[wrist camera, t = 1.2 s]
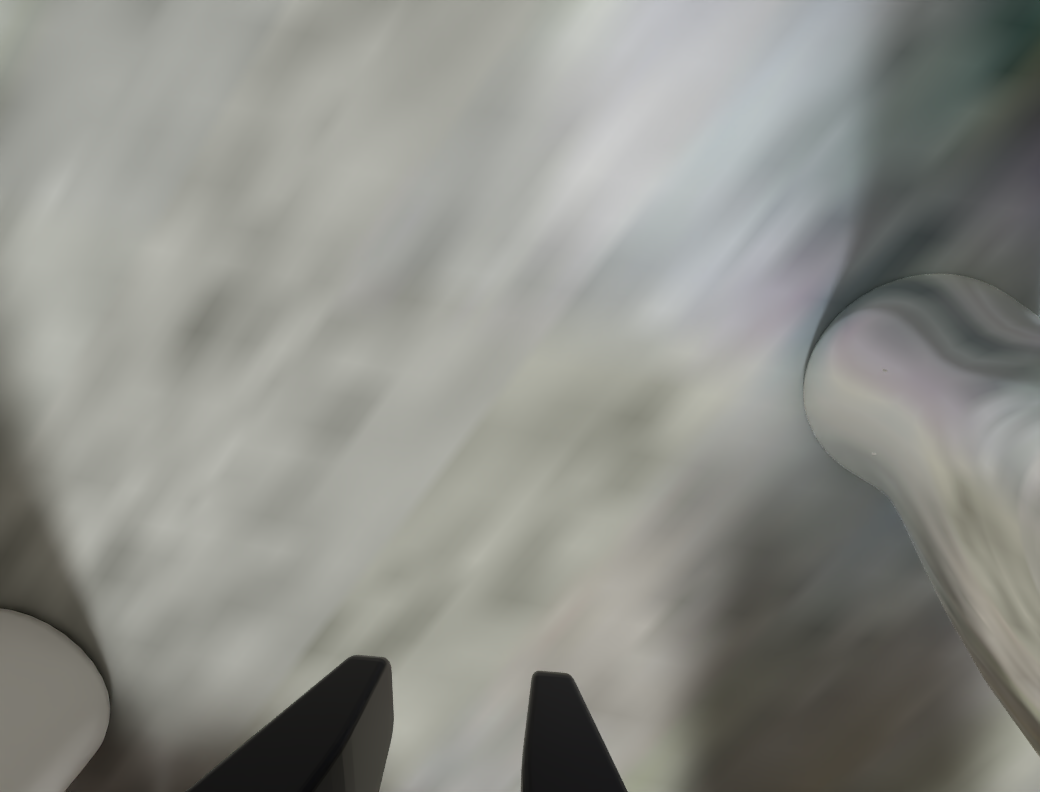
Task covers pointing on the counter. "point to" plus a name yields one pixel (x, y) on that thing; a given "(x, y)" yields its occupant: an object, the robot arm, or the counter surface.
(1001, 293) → the beer glass
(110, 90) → the counter surface
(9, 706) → the milk bottle
